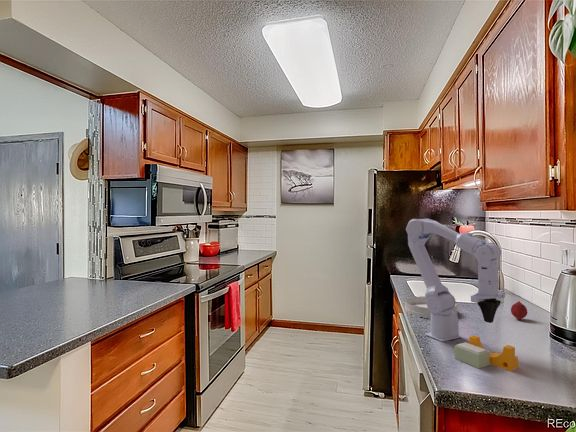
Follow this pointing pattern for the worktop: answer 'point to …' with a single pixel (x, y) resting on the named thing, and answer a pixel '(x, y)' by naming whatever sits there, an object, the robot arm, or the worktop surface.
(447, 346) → the worktop surface
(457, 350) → the pale green block
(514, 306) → the onion
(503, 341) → the worktop surface
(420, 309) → the dish
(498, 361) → the pipe clamp
